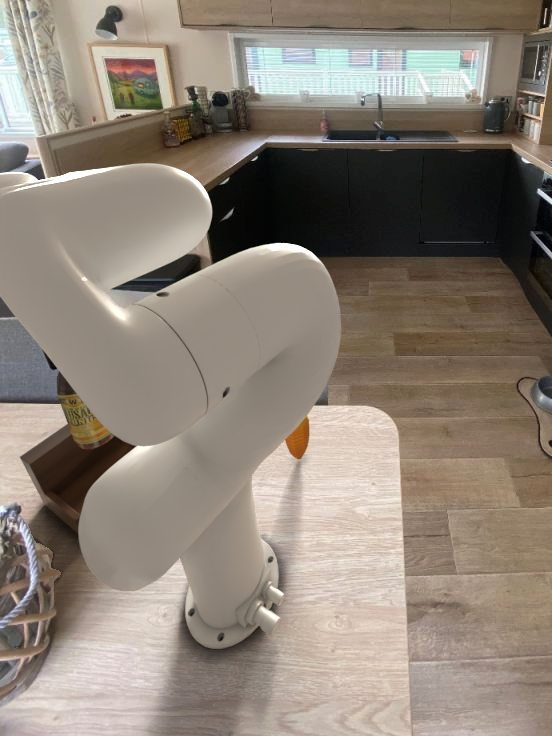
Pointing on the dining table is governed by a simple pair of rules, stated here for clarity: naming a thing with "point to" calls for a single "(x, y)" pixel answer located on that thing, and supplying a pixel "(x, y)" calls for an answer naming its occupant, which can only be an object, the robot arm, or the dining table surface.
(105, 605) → the dining table surface
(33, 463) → the brown wooden box
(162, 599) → the dining table surface
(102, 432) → the sauce bottle
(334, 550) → the dining table surface
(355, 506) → the dining table surface
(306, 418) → the decorative vegetable
